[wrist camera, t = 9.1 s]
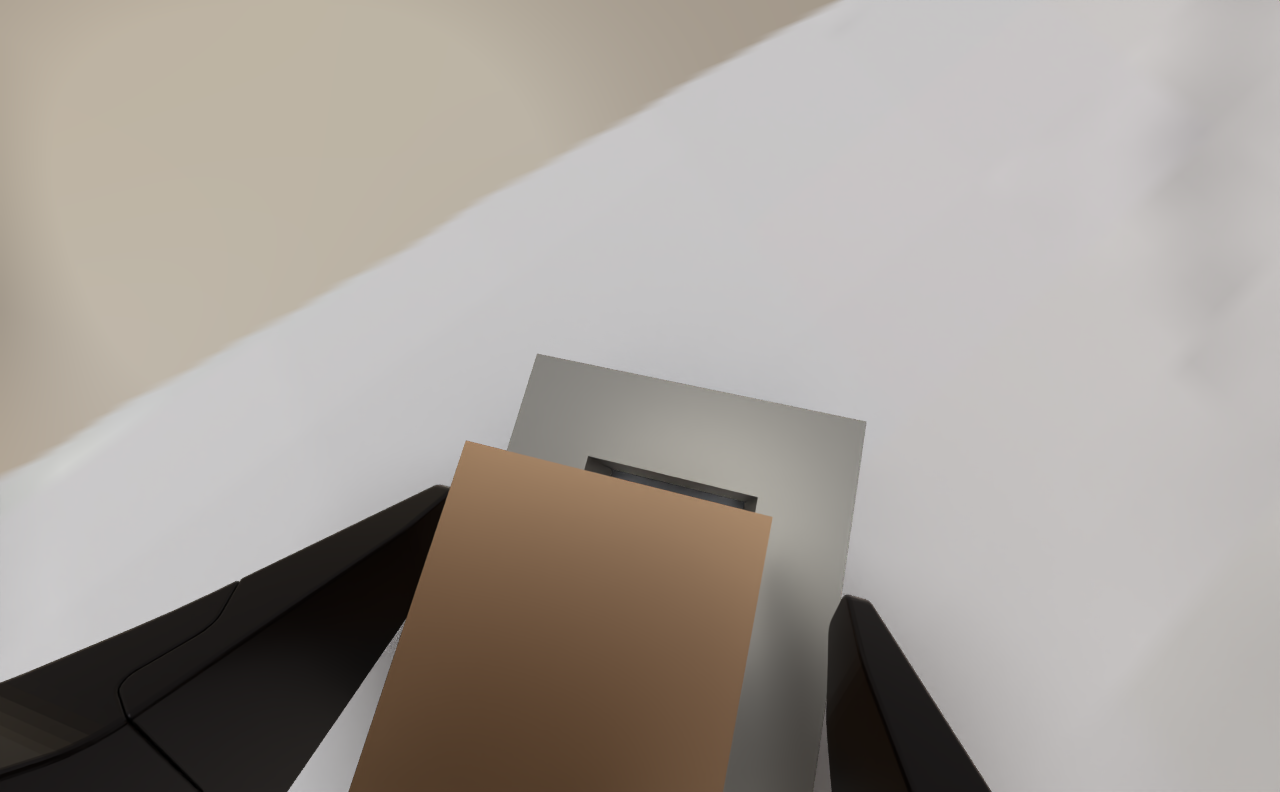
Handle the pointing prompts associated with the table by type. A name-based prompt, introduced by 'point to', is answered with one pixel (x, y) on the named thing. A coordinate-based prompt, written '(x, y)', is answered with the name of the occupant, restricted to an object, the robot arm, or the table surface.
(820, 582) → the grey block with slot
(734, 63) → the table surface
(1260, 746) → the table surface
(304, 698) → the robot arm
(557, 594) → the brown wooden block
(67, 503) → the table surface
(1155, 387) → the table surface
